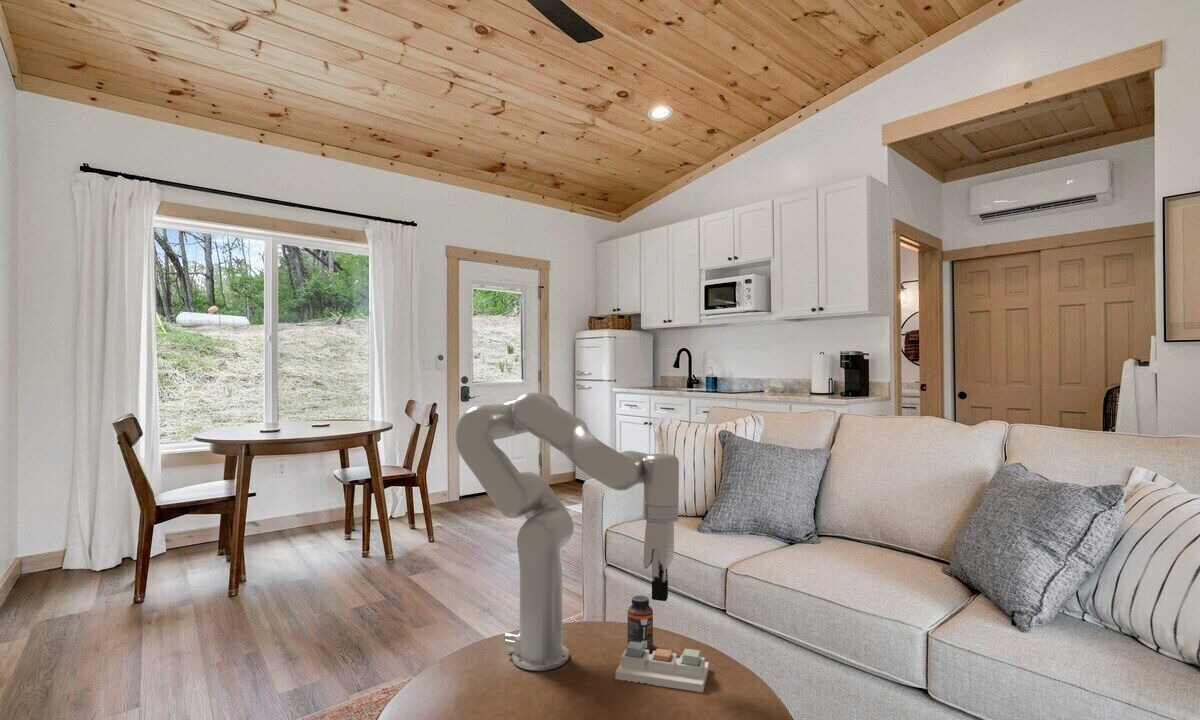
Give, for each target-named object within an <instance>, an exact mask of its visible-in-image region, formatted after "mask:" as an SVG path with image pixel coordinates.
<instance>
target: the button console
mask: <svg viewBox="0 0 1200 720" xmlns="http://www.w3.org/2000/svg"><path fill="white" fill-rule="evenodd" d="M655 651H656V650H653V651H652V653H651V654H650V650H646V649H644V655H643V657H642V658H635V657H628V656H626V648H625V649H624V651H623V653H622V655H621V656H620V663H619V665H618V666H617V668H616V670H615V678H614V679H615V680H618V679H619V681H625V680H627V681H626V682H631V681H633V682H632V683H638V682H640V683H639V684H644V683H647V684H646V685H651V684H652V685H653V686H657V687H663V688H664V687H665V688H669V689H670V688H672V689H675V690H677V689H678V690H685V691H691V692H695V693H704V690H705V687H706V683H707V682H706V681H707V678H708V674H709V670H710V667H709V666H710V665H709V664H710V663H709V661H706V657H705V656H704V657H702V656H700V664H699V666H692V665H685V664H682V655H683V653H682V654H681V655H680V656H679V657H677V653H675V652H672V659H671V662H663V661H656V660H654V654H655Z"/></svg>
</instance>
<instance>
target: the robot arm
mask: <svg viewBox="0 0 1200 720" xmlns="http://www.w3.org/2000/svg"><path fill="white" fill-rule="evenodd" d="M525 433H530V434H532V435H533V436H534V437H536V438H538V439H539V440H541V441H542V442H545V443H546V444H548V445H549V446H551V447H553V448H554V449H556V450H557V451H559V452H561V453H562V454H563V455H565V457H566V458H567V459H569V461H571V462H572V463H573V464H574V466H576V467H577V468H578V469H580V470H581V471H582V472H583V473H585V474H587V475H588V476H590V477H591V478H593V479H595V480H596V481H598V482H599V483H601V484H603V486H606V487H608V488H609V489H612V490H617V491H627V490H629V489H631V488H633V487H634V486H636V485H639V484H643V515H642V516H643V517H642V518H643V520H645V522H646V523H645V529H644V530H645V532H644V542H643V543H644V544H643V545H644V546H643V561H642V563H643V564H642V567H643V568H644V569H646V570H647V569H648V568H649V567H650V566H651V600H653V601H659V602H666V601H667V600H668V598H669V566H670V565H671V563H672V562H673V561H674V560H673V559H674V551H675V550H674V548H675V524H674V523H675V522H678V521H679V511H680V510H679V505H680V504H679V502H680V501H679V499H680V497H679V495H680V494H679V492H680V491H679V489H680V488H679V487H680V461H679V458H678V457H677V456H676V455H674V454H669V453H646V452H639V451H635V450H634V451H633V450H625V451H622V452H619V451H618V450H616V449H614V448H613V447H610V446H609V445H607V444H605V443H604V442H602V440H599V439H598V438H597V437H596V436H594V435H593V434H592V432H591V431H590V430H589V428H588V425H587V424H586V423H585V421H584V420H583V419H581V418H579V417H578V416H576V415H574V414H573V413H570V412H569V411H567V410H566V409H564V408H562V407H561V406H559V404H558V402H557V400H556V398H554V396H552V395H550V394H548V393H544V392H526V393H524V394H521V395H519V396H518V398H517V399H516V400H511V401H508V402H504V403H498V404H496V403H495V404H494V403H493V404H479V405H475V406H472V407H470V408H469V409H467V410H466V411H465V412H464V413H463V414H462V415H461V417H460V418H459V420H458V422H457V425H456V430H455V443H456V448H457V451H458V453H459V454H460V456H461V459H462V460H463V461H464V463H465V464H466V465H467V467H468V468H469V470H470V471H471V472H472V473H473V475H474V476H475V478H476V479H477V480H478V483H480V485H481V487H482V489H484V490H485V492H486V494H487V495H488V496H489V498H490V499H491V501H492V502H493V504H494V505H495V506H496V508H497V510H498V512H500V513H501V514H502V515H503V516H504V517H506V518H508V519H517V518H520V517H522V516H524V517H525V519H526V521H525V522H524V523H523V524H522V525H521V527H520V528H519V531H518V534H517V537H516V538H517V539H516V548H517V556H518V561H519V562H518V563H519V633H518V634H515V633H511V632H510V633H509V632H505V634H504V637H503V641H504V643H503V644H504V647H510V648H511V647H513V649H514V650H513V652H512V654H511V656H512V659H511V660H512V662H513V664H514V665H515V666H517V667H519V668H521V669H523V670H527V671H536V672H537V671H539V672H541V671H550V670H555V669H557V668H559V667H561V666H563V665H564V664H565V663H567V662H568V660H569V657H570V656H569V655H570V652H569V648H568V647H566V646H565V645H563V570H562V562H561V557H560V555H561V554H560V553H561V552H560V551H561V549H562V548H563V547H564V546H565V545H566V544H568V542H570V541H571V539H572V537H573V533H574V522H573V518H572V516H571V514H570V513H569V511H568V510H567V509H566V507H565V505H564V504H563V503H562V501H561V500H560V499H559V498H558V497H557V496H558V495H556V493H555V491H554V490H553V489H552V488H551V487H550V485H549V484H548V483H547V482H546V480H545V479H544V478H543V477H542V476H540V475H539V474H537V473H535V472H531V471H522V472H520V471H519V470H518V469H517V467H516V466H515V465H514V464H513V462H512V460H511V459H510V458H509V456H508V455H507V454H506V453H505V452H504V451H503V450H502V449H501V448H500V447H498V445H496V443H495V442H494V441H495V440H500V439H506V438H511V437H513V436H517V435H521V434H525Z"/></svg>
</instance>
